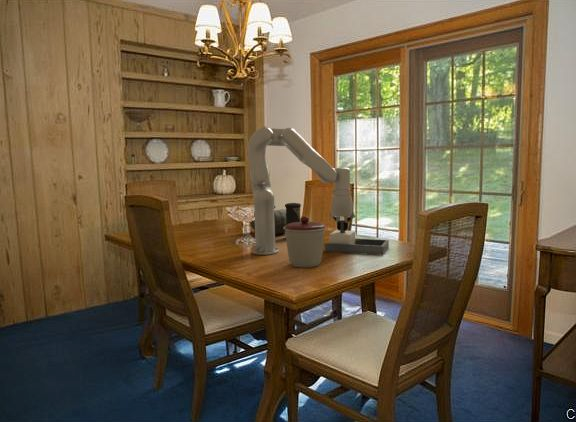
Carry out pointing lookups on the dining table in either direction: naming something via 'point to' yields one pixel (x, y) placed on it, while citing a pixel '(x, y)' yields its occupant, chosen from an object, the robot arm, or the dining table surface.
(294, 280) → the dining table surface
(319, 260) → the canister
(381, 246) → the bay
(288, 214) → the container
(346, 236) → the block with upright handle
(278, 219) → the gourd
